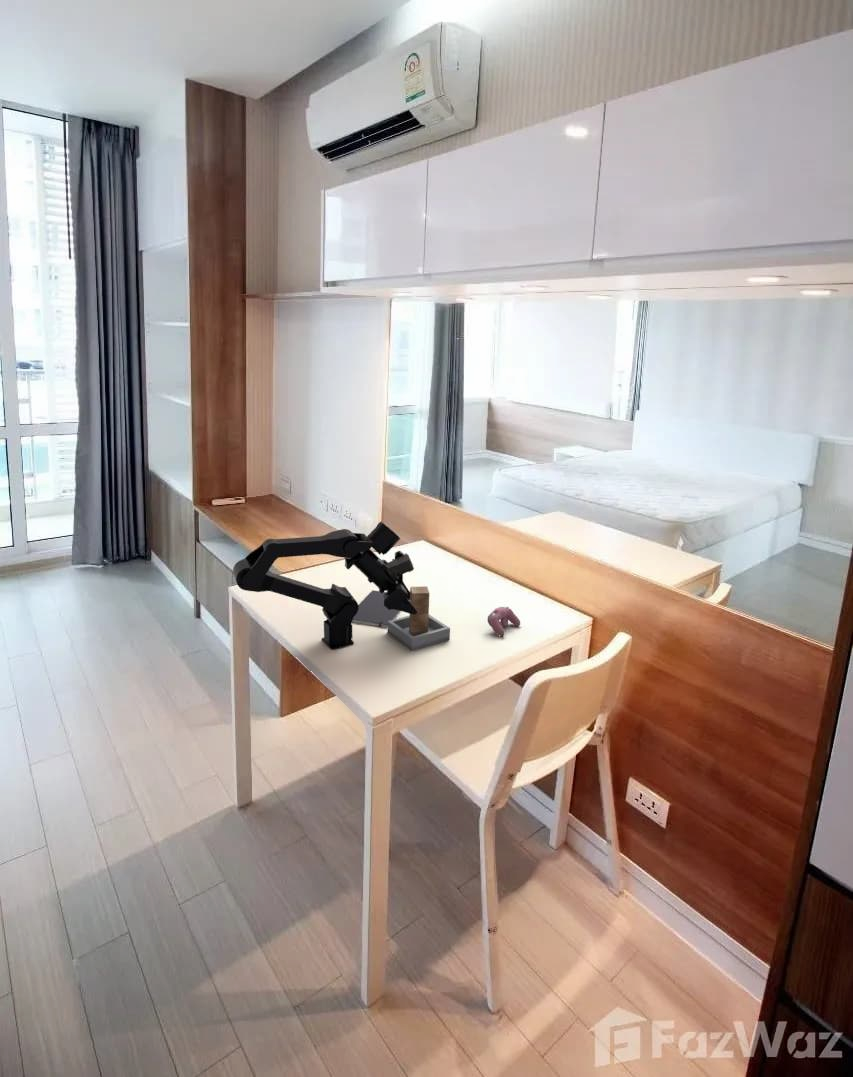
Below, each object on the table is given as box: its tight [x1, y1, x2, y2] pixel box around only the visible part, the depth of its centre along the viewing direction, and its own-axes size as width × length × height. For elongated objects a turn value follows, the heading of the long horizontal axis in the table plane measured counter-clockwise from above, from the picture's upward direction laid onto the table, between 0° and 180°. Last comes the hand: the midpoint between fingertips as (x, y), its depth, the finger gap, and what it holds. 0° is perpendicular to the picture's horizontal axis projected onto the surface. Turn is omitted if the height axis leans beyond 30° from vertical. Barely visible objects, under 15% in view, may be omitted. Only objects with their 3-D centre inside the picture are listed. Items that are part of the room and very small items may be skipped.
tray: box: [387, 614, 451, 652], centre depth 174 cm, size 12×12×4 cm
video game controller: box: [487, 606, 521, 637], centre depth 180 cm, size 10×5×7 cm, turn 142°
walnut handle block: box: [408, 585, 430, 636], centre depth 172 cm, size 4×4×12 cm
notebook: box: [352, 589, 410, 628], centre depth 190 cm, size 13×2×21 cm
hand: (414, 606), depth 171 cm, fingers open, 9 cm apart
